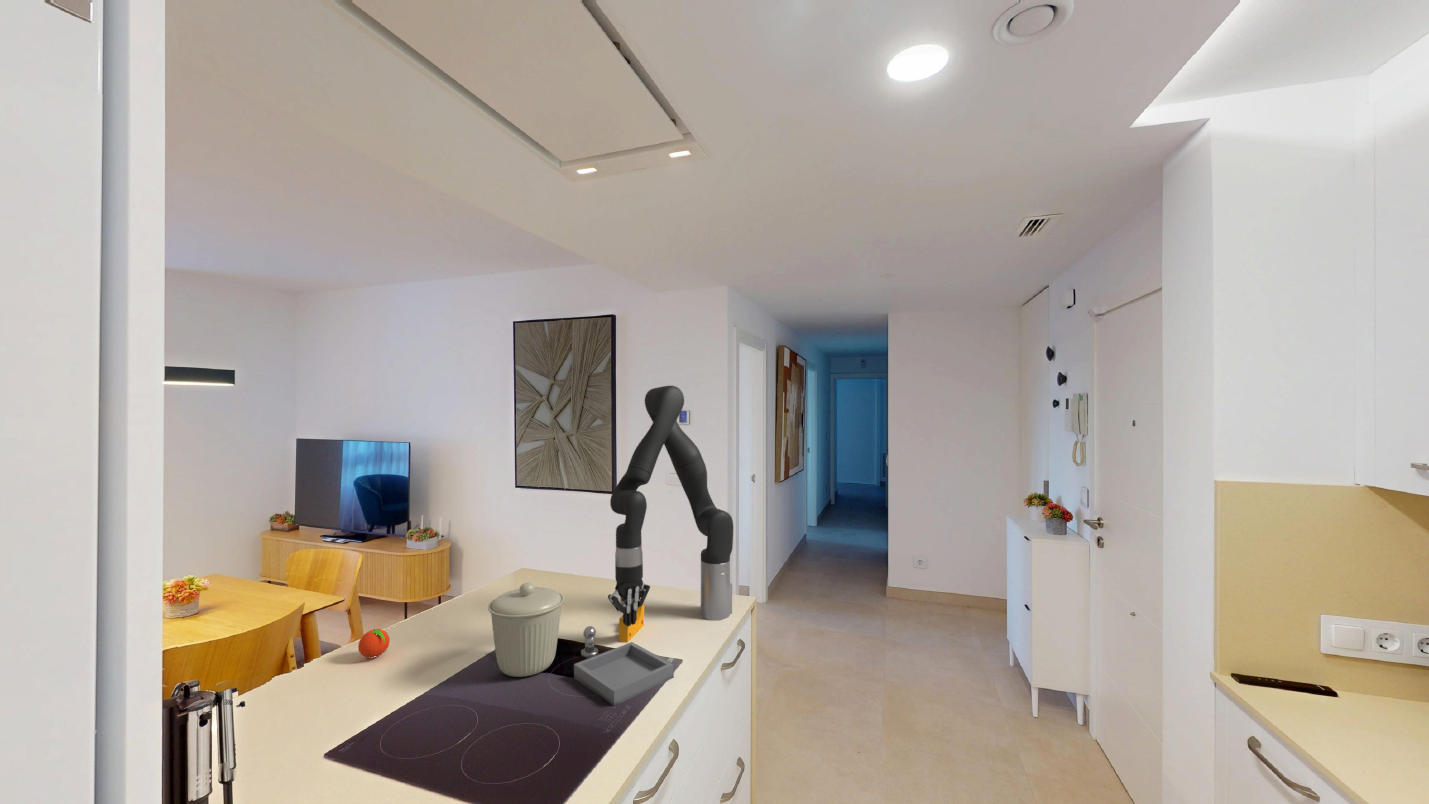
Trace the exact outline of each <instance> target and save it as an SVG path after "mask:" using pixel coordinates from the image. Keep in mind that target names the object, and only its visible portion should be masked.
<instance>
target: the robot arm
mask: <svg viewBox="0 0 1429 804" xmlns="http://www.w3.org/2000/svg"><path fill="white" fill-rule="evenodd" d="M644 396H645V397H644V406H645V410H646V412H647V414H648V416H649V418H650V419H651V422H652V423H651V425H650V427H649V429H648V431H647V432H646V434H645V435H644V436H643V438H642V439H641V440H640V441H639V443H638V444H637V446H636V447H635V449H634V451H633V453H632V456H631V458H630V461H629V462H628V463H629V464H628V466H627V469H626V471H625V473H624V474H623V476H622V477H621V478H620V480H619V482H618V483H617V485H616V486H615V488H614V489H613V491H612V493H611V497H610V501H609V502H610V508H611V510H612V511H613V512H614V513H615V514H618V515H623V516H625V520H624V523H620V524H619V525H617V527H616V528H615V554H614V558H615V560H614V561H615V562H614V564H615V565H614V566H615V568H614V569H615V570H614V571H615V572H614V573H615V576H614V577H615V582H616V585H615V587H614V591H613V592H612V594H610V593H609V594H608V595H607V599H608V600H609V601H610V603H611V604H612V606H613V607H614V608H615V610H616V611H617V612H620V613H621V614H622V616H623V623H624V624H625V625H626V626H631V624H632V625H633V624H635V623H636V620H637V609H638V607H641V606H642V605H643V604H645V603H644V602H645V600H646V598H647V596H648V593H649V592H650V588H651V586H650V585H648V584H645V583H644V582H643V581H644V580H643V577H644V564H643V562H644V561H643V560H644V559H643V557H644V556H643V555H644V553H643V545H642V529H643V525H644V522H645V518H646V517H645V516H646V513H647V507H648V505H647V504H648V503H647V499H646V497H645V495H644V494H643V493H642V491H640V490H638V489H639V487H641V486H645V485H647V484H648V483H650V482H649V481H650V480H651V478H652V475H653V472H654V469H655V466H656V464H657V460H658V458H659V455H660V453H661V451H662V448H663V447H665V449H666V451H667V455H668V456H669V459H670V461H671V463H672V464H671V465H672V466H673V469H674V471H675V473H676V475H677V477H678V478H677V479H678V480H679V482H680V484H681V487H682V489H683V491H684V493H685V495H686V498H687V499H688V500H687V501H688V502H689V506H690V508H691V511H692V515H693V518H694V519H693V520H694V522H695V524H696V525H695V526H696V528H697V529H698V532H700V533H701V534H702V535H703V536H705V537H707V538H706V539H707V540H706V548H704V549H702V550H701V551H700V616H701V618H703V619H706V620H708V621H722V620H725V619H727V618H729V617H730V615H731V614H733V583H732V582H731V567H730V566H731V554H732V551H733V547H734V546H733V544H734V521H733V518H732V515H731V514H730V513H729V512H727V511H725V510H722V509H719V508H717V506H716V505H715V503H714V502H713V499H712V496H711V495H710V493H709V487H708V471H707V465H706V463H705V460H704V458H703V456H702V453H701V451H700V449H699V448H698V446H697V445H696V443H695V442H694V441H693V440H692V439H691V438H690V437H689V435H687V434H686V433H685V432H684V431H683V429H682V427H680V425H679V423H678V422H677V421H678V418H679V416H680V414H681V412H682V411H683V408H684V405H685V396H684V393H683V391H682V389H680V388H679V387H677V386H675V385H663V386H658V387H654V388H651V389H649V390H647V392H646V393H645V395H644Z"/></svg>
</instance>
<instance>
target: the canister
mask: <svg viewBox="0 0 1429 804" xmlns="http://www.w3.org/2000/svg"><path fill="white" fill-rule="evenodd" d="M564 602H565V596H564V594H562V593H560V592H558V591H557V590H555V589H552V588H548V587H540V586H537V587H536V586H535V585H534V584H533V583H532V582H524V583H523V584H521V585H520V587H519V588H516V589H514V590H510V591H507V592H505V593H502V594H500V595H498V597H496V598H495V599H493V600H492V601H490V602H489V604H488V606H487V610H488V612H489V613H490V615H491V624H492V632H493V642H494V650H495V656H496V662H497V665H498V668H499V670H500V671H501V672H502V673H503V674H504V675H507V676H509V677H514V678H516V677H517V678H523V677H525V678H526V677H529V676H534V675H537V674H540V673H542V672H544V671H545V670H547V669H548V668H549V667H550V666H551V665H552V663H553V661H554V659H555V658H556V654H557V653H556V652H557V646H558V637H559V630H560V620H561V614H562V605H563V604H564Z"/></svg>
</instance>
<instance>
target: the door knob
mask: <svg viewBox="0 0 1429 804" xmlns="http://www.w3.org/2000/svg"><path fill="white" fill-rule="evenodd" d="M596 634H597V630H596V628H595V627H594V626H592V625H589V626H586V627H585V628H584V630H583V637H584V648H583V649H581V650H580V656H581V657H583V658H586V659H589V658H591V657H594V656H597V655H599V649H598V648H597V647H595V636H596Z"/></svg>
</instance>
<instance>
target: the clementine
mask: <svg viewBox="0 0 1429 804" xmlns="http://www.w3.org/2000/svg"><path fill="white" fill-rule="evenodd" d="M376 634H377V635H376ZM390 640H391V639H390V635H389V633H388V632H386V630H383V629H380V628H374V629H370V630H369V631H367V632H365V633H364V634H363V635H362V637H360V639H359V642H358V651H359V653H360V655H361V656H363V657H365V658H367V657H374V656H378V655H380V656H381V655H383V654H384V653H385V652H386V651H387V650H388V648H389V647H390V646H389V645H390V642H391V641H390ZM382 653H383V654H382ZM378 657H379V656H378ZM374 658H375V657H374Z"/></svg>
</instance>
